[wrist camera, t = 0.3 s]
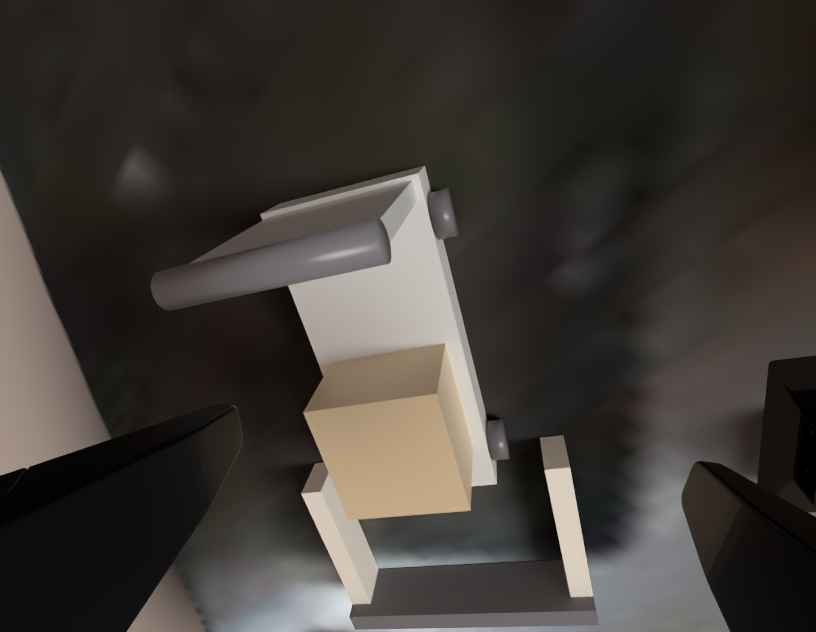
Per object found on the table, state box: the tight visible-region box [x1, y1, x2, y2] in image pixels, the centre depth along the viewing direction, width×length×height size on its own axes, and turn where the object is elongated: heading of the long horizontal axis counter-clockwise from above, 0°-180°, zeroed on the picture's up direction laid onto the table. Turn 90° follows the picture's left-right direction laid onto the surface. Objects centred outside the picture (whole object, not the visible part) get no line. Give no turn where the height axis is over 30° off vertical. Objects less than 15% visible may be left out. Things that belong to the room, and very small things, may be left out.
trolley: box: [151, 166, 509, 520], centre depth 20 cm, size 16×9×10 cm, turn 15°
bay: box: [301, 435, 598, 629], centre depth 28 cm, size 10×14×3 cm
